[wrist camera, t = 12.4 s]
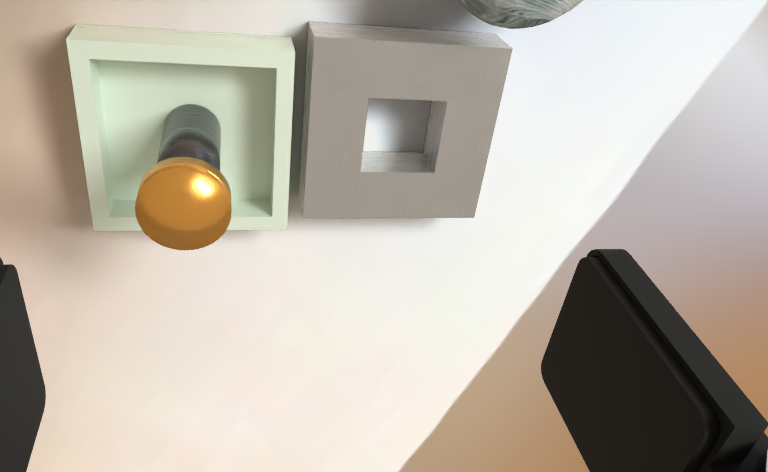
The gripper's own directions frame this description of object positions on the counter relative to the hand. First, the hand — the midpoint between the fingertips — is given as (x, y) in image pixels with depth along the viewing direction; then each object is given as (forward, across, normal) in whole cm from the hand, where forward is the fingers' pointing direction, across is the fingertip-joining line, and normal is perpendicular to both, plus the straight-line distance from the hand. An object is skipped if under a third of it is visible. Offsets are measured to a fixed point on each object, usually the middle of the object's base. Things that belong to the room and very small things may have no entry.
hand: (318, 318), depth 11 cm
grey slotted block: (+31, -9, +10) cm, 34 cm away
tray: (+31, +4, +11) cm, 33 cm away
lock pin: (+30, +4, +11) cm, 32 cm away
